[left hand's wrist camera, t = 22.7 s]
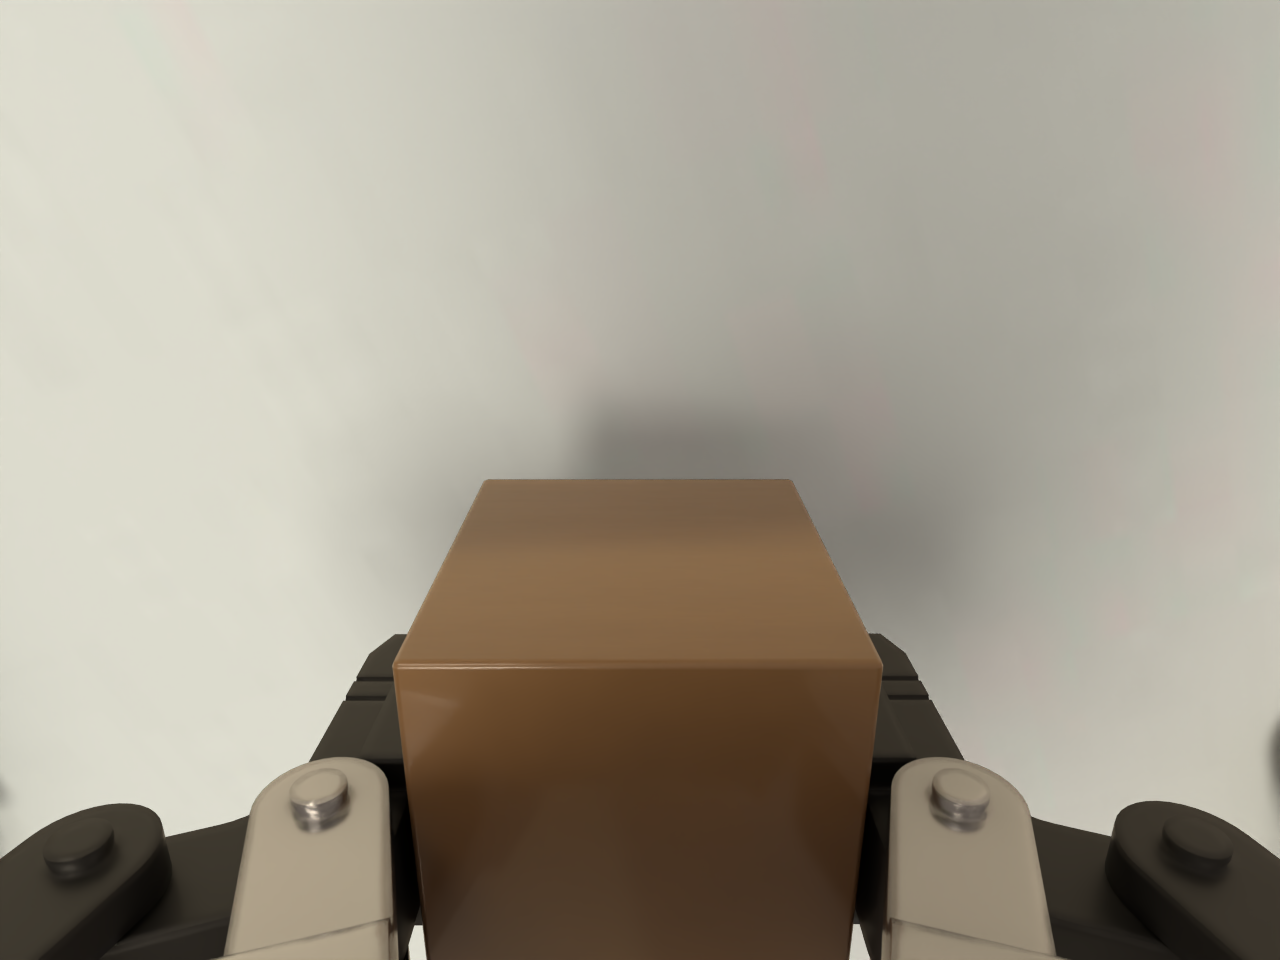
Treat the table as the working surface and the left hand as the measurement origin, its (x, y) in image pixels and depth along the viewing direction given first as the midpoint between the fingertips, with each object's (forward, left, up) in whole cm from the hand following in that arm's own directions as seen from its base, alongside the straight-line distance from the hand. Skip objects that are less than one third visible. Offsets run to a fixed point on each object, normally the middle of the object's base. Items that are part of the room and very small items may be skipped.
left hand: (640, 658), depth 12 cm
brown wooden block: (0, 0, 0) cm, 0 cm away
